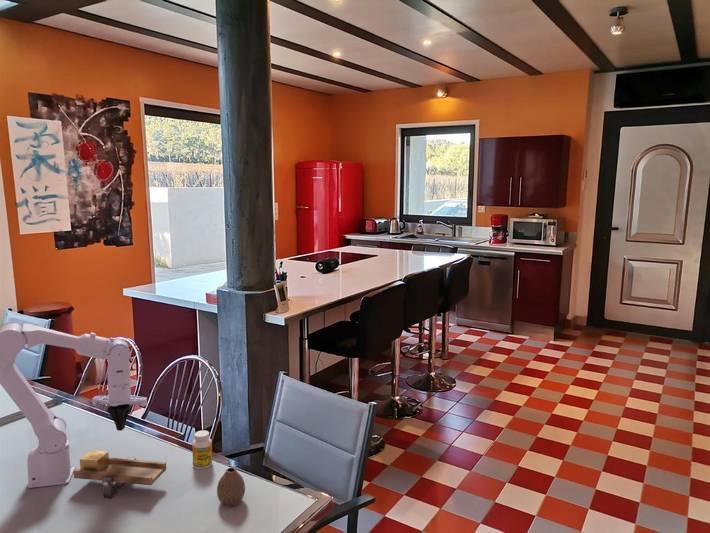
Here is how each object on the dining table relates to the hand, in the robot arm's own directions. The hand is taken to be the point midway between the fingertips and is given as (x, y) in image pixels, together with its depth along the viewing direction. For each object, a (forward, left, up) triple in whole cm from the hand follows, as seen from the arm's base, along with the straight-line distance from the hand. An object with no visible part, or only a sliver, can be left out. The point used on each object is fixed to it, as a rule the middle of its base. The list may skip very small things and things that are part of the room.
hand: (120, 429), depth 145 cm
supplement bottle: (+22, -6, -11) cm, 25 cm away
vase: (+29, -26, -11) cm, 40 cm away
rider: (-5, -9, -6) cm, 12 cm away
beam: (+1, -12, -6) cm, 14 cm away
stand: (+1, -12, -10) cm, 16 cm away
